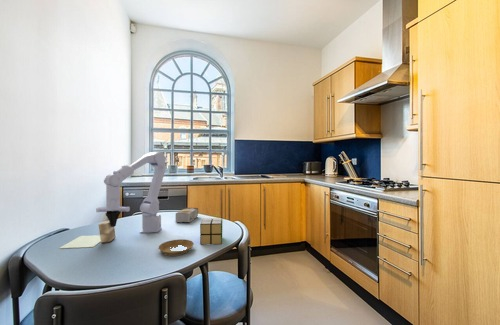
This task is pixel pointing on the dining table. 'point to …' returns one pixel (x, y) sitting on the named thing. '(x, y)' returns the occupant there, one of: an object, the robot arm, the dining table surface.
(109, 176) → the robot arm
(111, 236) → the birch block
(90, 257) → the dining table surface
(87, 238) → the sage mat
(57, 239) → the dining table surface
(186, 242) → the plant saucer
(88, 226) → the dining table surface
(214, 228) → the puzzle cube
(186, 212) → the coffee box
